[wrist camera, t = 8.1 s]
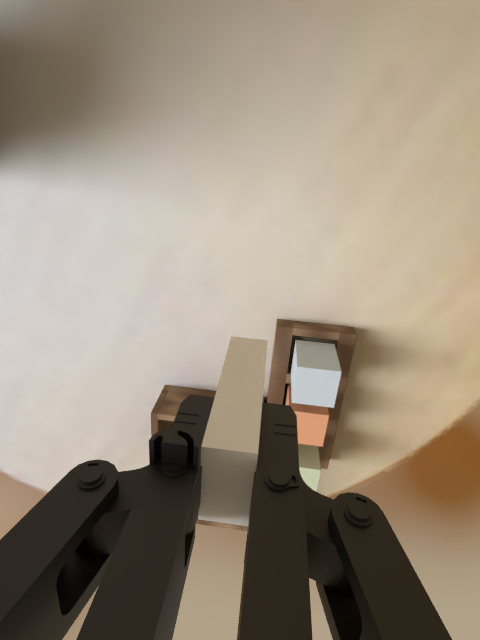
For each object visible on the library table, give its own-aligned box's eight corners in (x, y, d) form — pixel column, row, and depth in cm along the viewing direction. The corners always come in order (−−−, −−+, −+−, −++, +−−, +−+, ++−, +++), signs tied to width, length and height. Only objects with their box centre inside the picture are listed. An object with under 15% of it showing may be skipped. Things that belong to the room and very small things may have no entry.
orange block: (284, 409, 50) (284, 441, 45) (288, 381, 49) (288, 410, 43) (318, 414, 50) (322, 446, 45) (323, 385, 48) (329, 415, 43)
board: (260, 449, 55) (260, 460, 53) (277, 319, 46) (276, 326, 45) (325, 458, 54) (327, 469, 52) (353, 327, 46) (356, 334, 44)
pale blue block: (290, 372, 46) (291, 402, 41) (295, 339, 45) (297, 366, 39) (328, 377, 46) (333, 407, 41) (334, 344, 44) (341, 371, 39)
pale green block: (278, 456, 52) (277, 493, 46) (282, 430, 50) (281, 464, 45) (311, 461, 52) (314, 498, 46) (316, 434, 50) (320, 470, 44)
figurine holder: (165, 483, 59) (153, 517, 54) (165, 385, 52) (151, 413, 46) (252, 495, 58) (249, 531, 53) (264, 397, 51) (262, 427, 46)
